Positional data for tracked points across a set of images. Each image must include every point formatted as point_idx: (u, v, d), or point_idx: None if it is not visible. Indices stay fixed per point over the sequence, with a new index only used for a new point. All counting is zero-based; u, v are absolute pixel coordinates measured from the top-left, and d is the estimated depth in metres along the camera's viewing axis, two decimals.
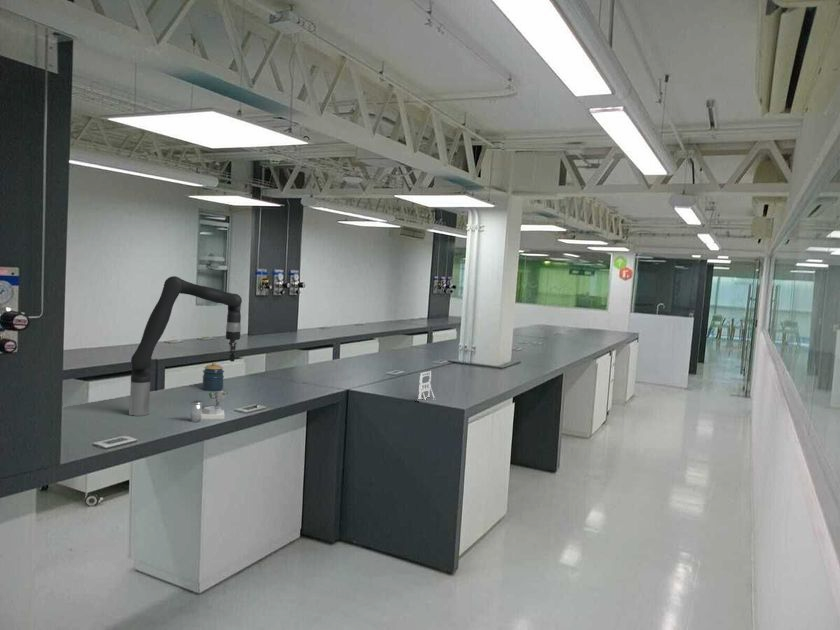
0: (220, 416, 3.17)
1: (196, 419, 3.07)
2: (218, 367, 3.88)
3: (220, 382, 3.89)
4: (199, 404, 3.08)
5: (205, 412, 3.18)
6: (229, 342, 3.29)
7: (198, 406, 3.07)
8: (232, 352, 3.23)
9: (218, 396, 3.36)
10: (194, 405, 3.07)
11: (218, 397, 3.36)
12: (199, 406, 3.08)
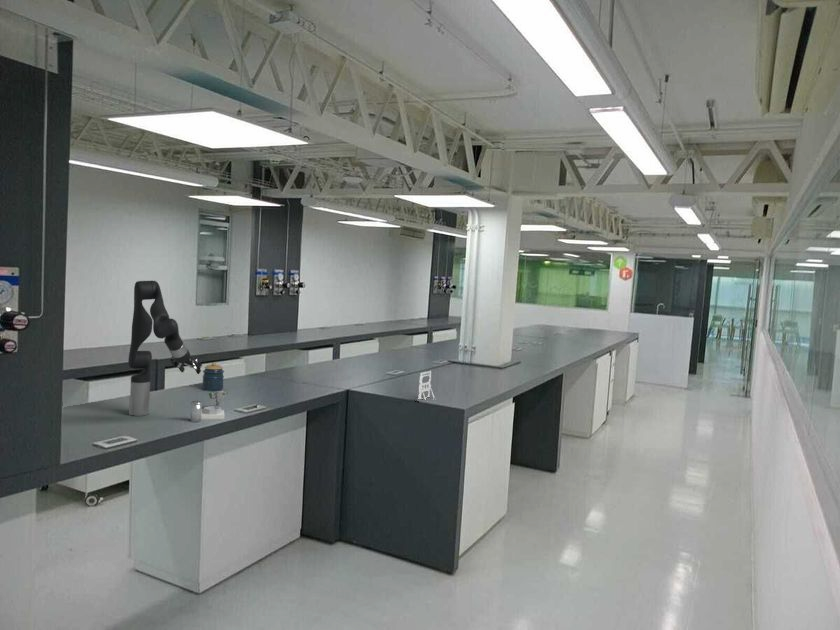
0: (220, 416, 3.17)
1: (196, 419, 3.07)
2: (218, 367, 3.88)
3: (220, 382, 3.89)
4: (199, 404, 3.08)
5: (205, 412, 3.18)
6: None
7: (198, 406, 3.07)
8: (200, 367, 2.95)
9: (218, 396, 3.36)
10: (194, 405, 3.07)
11: (218, 397, 3.36)
12: (199, 406, 3.08)
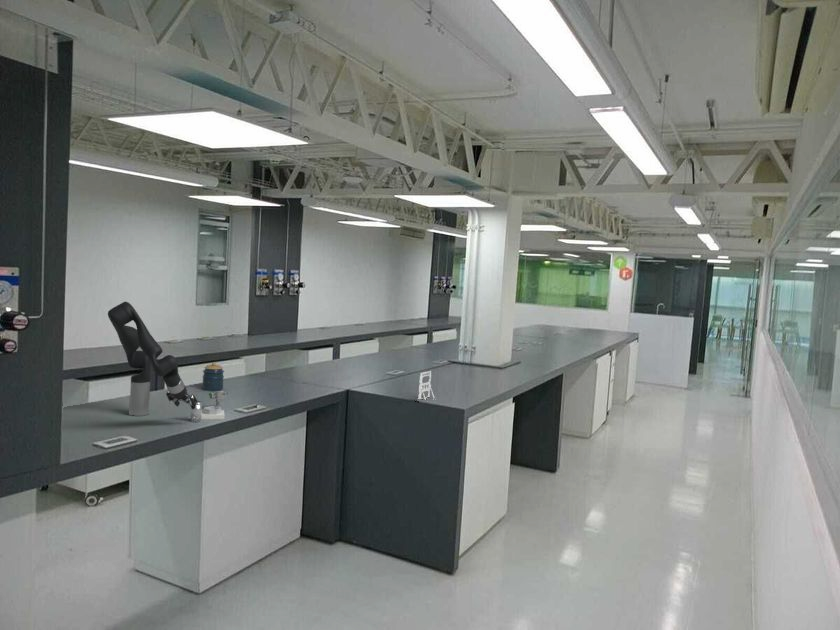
0: (220, 416, 3.17)
1: (196, 419, 3.07)
2: (218, 367, 3.88)
3: (220, 382, 3.89)
4: (199, 404, 3.08)
5: (205, 412, 3.18)
6: None
7: (198, 406, 3.07)
8: (195, 403, 2.97)
9: (218, 396, 3.36)
10: None
11: (218, 397, 3.36)
12: (199, 406, 3.08)
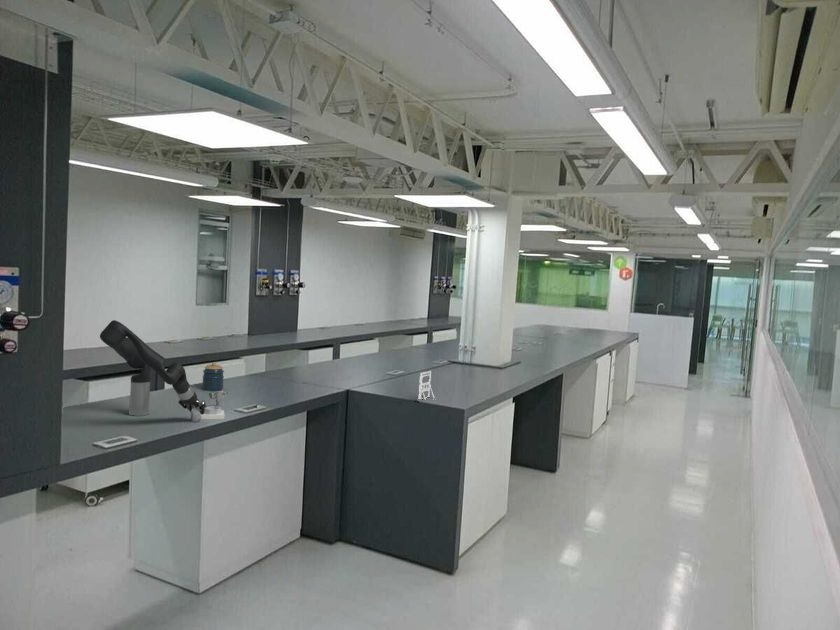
0: (220, 416, 3.17)
1: (196, 419, 3.07)
2: (218, 367, 3.88)
3: (220, 382, 3.89)
4: None
5: (205, 412, 3.18)
6: None
7: None
8: (204, 408, 3.06)
9: (218, 396, 3.36)
10: None
11: (218, 397, 3.36)
12: None
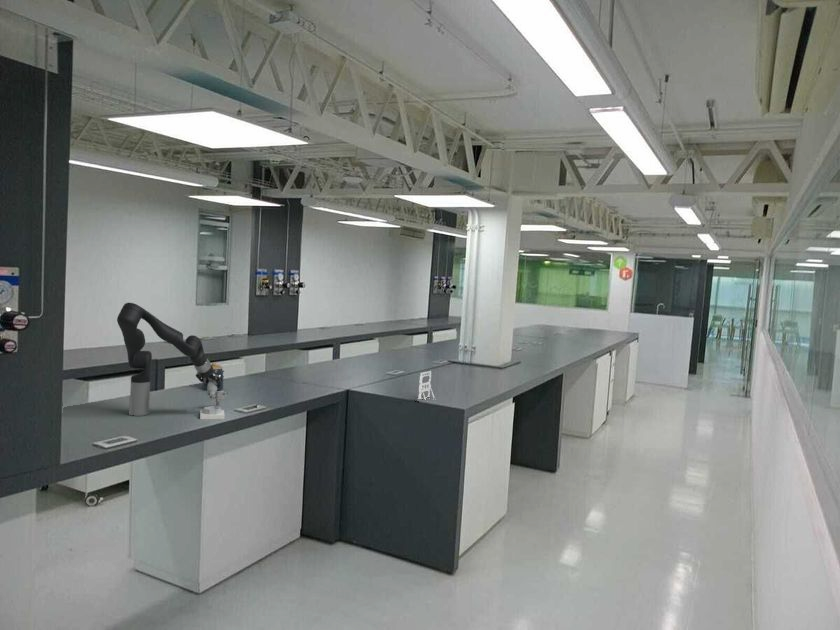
0: (220, 416, 3.17)
1: (213, 392, 3.18)
2: (218, 367, 3.88)
3: None
4: None
5: (205, 412, 3.18)
6: None
7: None
8: (220, 381, 3.17)
9: (218, 396, 3.36)
10: None
11: (218, 397, 3.36)
12: None
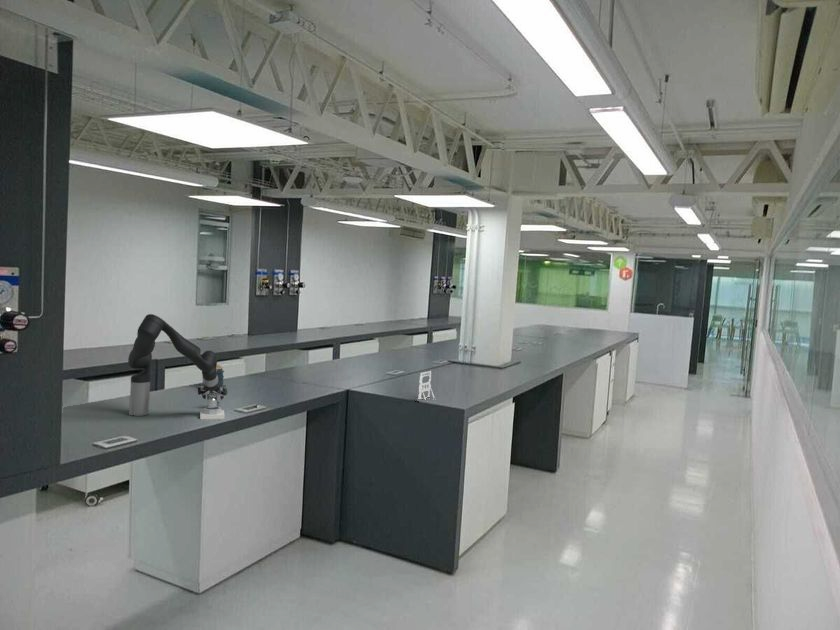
0: (220, 416, 3.17)
1: None
2: (218, 367, 3.88)
3: (220, 382, 3.89)
4: (216, 396, 3.20)
5: (205, 412, 3.18)
6: None
7: (215, 398, 3.20)
8: (226, 393, 3.20)
9: (218, 396, 3.36)
10: (212, 397, 3.19)
11: (218, 397, 3.36)
12: (216, 398, 3.20)
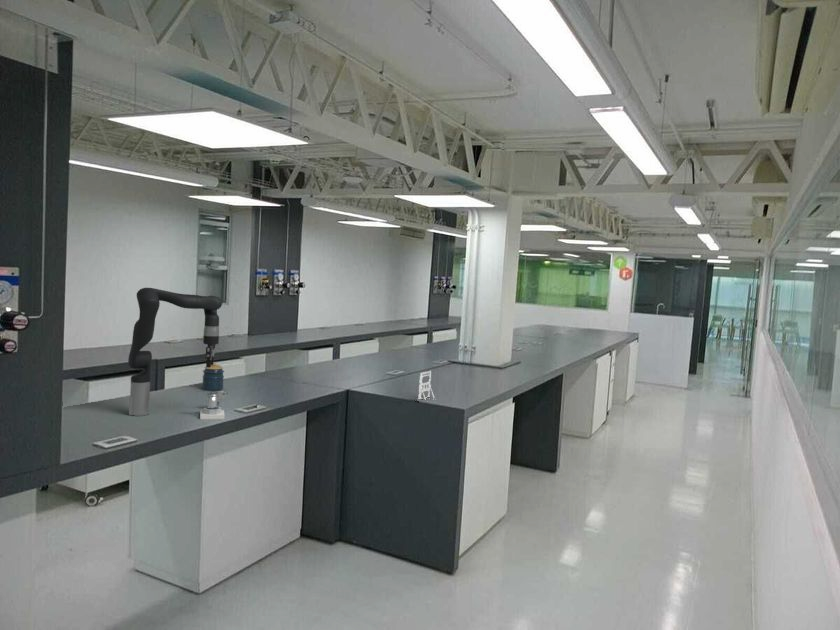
0: (220, 416, 3.17)
1: None
2: (218, 367, 3.88)
3: (220, 382, 3.89)
4: (216, 396, 3.20)
5: (205, 412, 3.18)
6: (213, 348, 3.11)
7: (215, 398, 3.20)
8: None
9: (218, 396, 3.36)
10: (212, 397, 3.19)
11: (218, 397, 3.36)
12: (216, 398, 3.20)
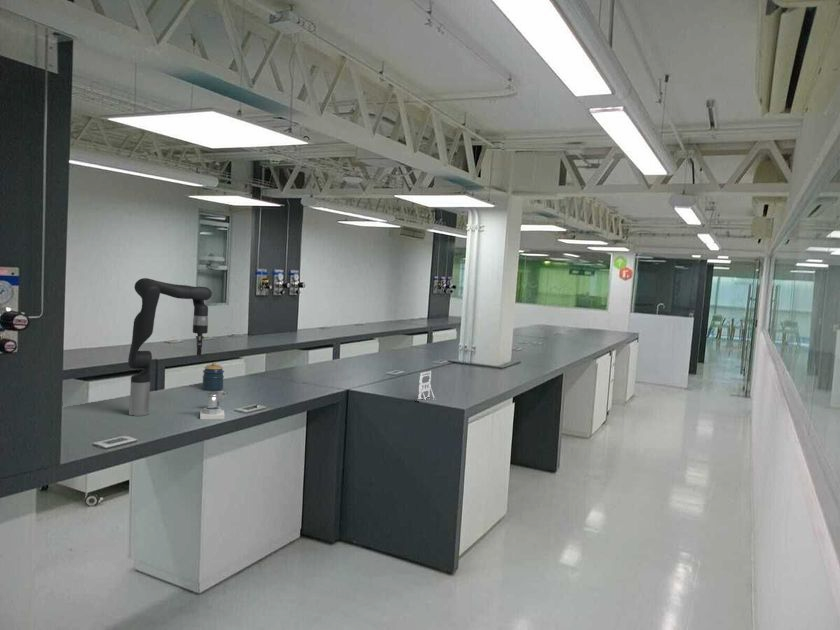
0: (220, 416, 3.17)
1: None
2: (218, 367, 3.88)
3: (220, 382, 3.89)
4: (216, 396, 3.20)
5: (205, 412, 3.18)
6: (203, 336, 3.23)
7: (215, 398, 3.20)
8: None
9: (218, 396, 3.36)
10: (212, 397, 3.18)
11: (218, 397, 3.36)
12: (216, 398, 3.20)
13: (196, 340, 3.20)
